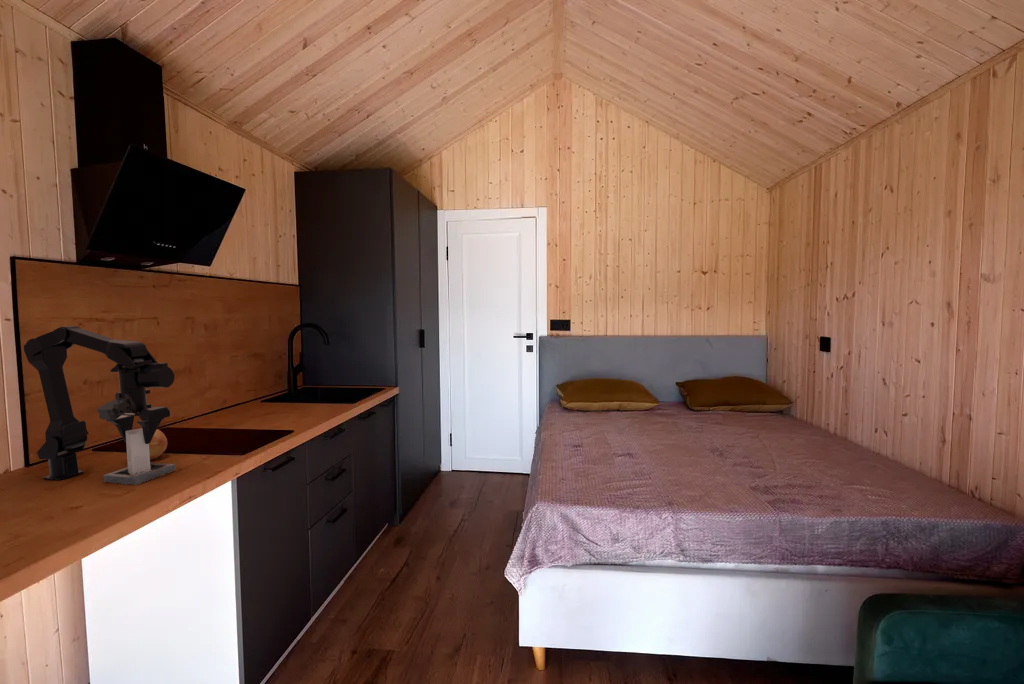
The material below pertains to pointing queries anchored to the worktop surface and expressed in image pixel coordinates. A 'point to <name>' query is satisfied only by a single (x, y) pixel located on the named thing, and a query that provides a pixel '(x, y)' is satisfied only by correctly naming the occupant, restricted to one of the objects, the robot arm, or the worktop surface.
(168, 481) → the worktop surface
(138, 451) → the skincare box
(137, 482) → the silver metal square frame
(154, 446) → the onion
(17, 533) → the worktop surface
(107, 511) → the worktop surface
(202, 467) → the worktop surface
